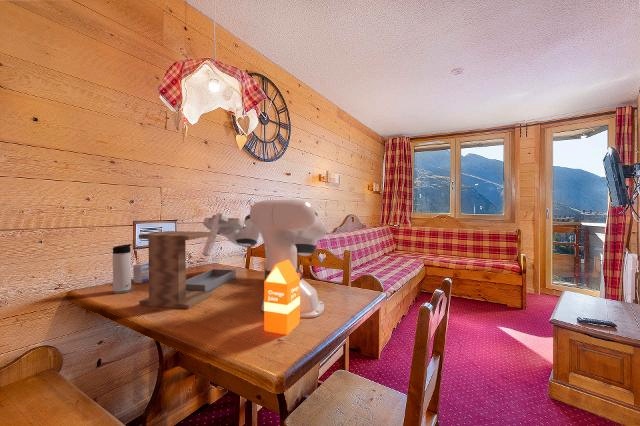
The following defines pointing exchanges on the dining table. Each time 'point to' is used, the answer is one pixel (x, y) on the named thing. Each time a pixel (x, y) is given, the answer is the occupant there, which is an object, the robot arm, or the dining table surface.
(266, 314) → the orange juice
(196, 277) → the blue-gray tray
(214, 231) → the bar
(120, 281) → the travel mug
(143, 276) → the medicine box
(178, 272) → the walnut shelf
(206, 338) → the dining table surface
